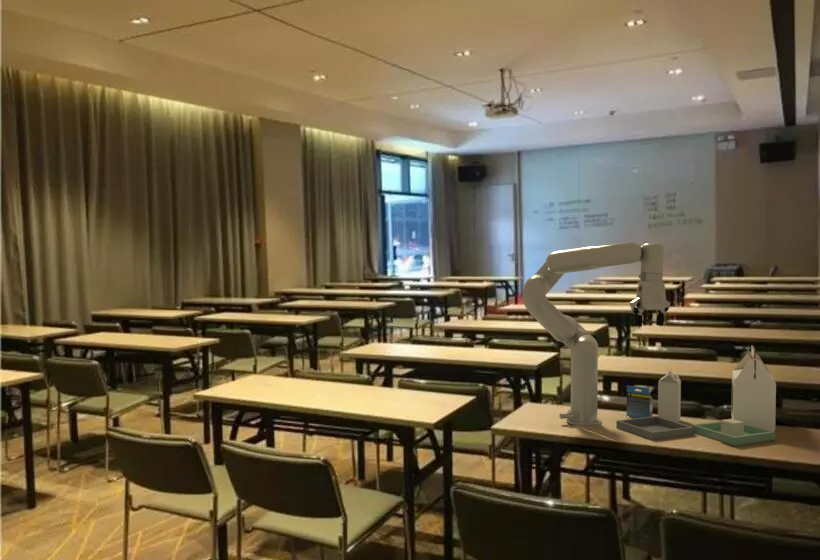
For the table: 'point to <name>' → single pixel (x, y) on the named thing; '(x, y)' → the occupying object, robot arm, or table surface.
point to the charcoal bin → (655, 427)
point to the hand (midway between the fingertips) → (649, 325)
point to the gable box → (753, 393)
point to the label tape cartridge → (639, 402)
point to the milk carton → (669, 397)
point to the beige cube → (732, 427)
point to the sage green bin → (750, 436)
